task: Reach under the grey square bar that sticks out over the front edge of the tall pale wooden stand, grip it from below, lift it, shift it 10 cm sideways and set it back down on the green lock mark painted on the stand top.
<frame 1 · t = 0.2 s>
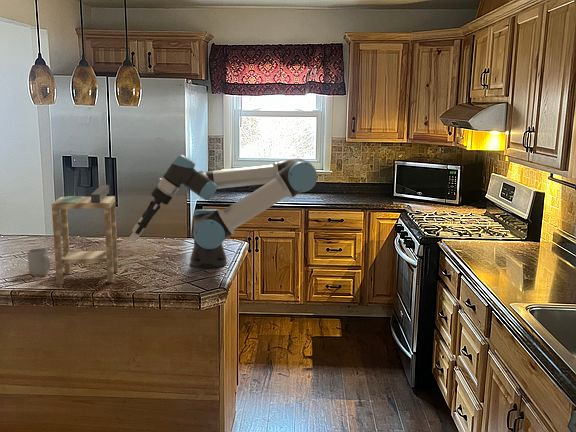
hand: (133, 236, 222), 15 cm above the counter, tool tilted 35°, fingers open, 13 cm apart
grey square bar: (100, 197, 222), point 30 cm above the counter, touching stand
cup: (41, 273, 226), on the counter
stand: (88, 277, 221), on the counter
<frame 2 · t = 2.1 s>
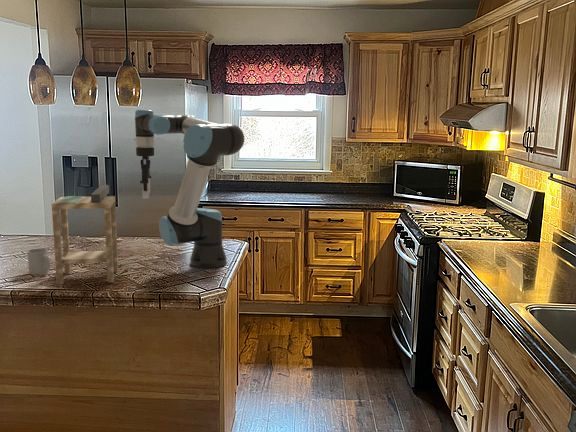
hand: (146, 195, 250), 26 cm above the counter, tool pointing down, fingers open, 13 cm apart
nothing on the counter moved.
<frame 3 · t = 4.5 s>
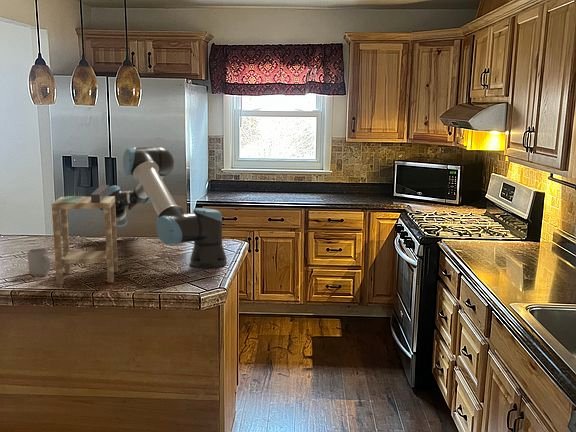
hand: (111, 195, 252), 26 cm above the counter, tool pointing upward, fingers open, 13 cm apart
nothing on the counter moved.
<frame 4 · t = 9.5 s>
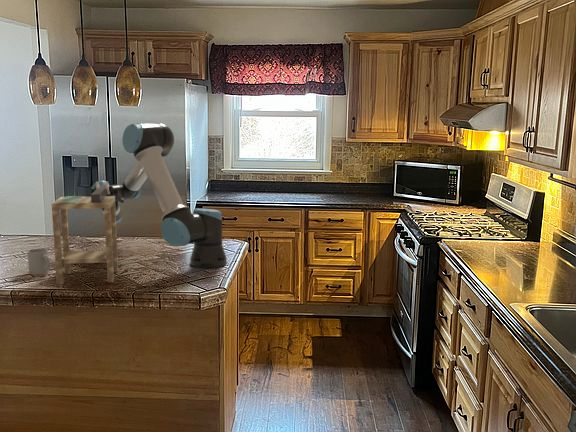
hand: (101, 184, 226), 34 cm above the counter, tool pointing upward, fingers closed on grey square bar, 3 cm apart
grey square bar: (100, 197, 222), point 30 cm above the counter, touching gripper, stand
everything else where it was.
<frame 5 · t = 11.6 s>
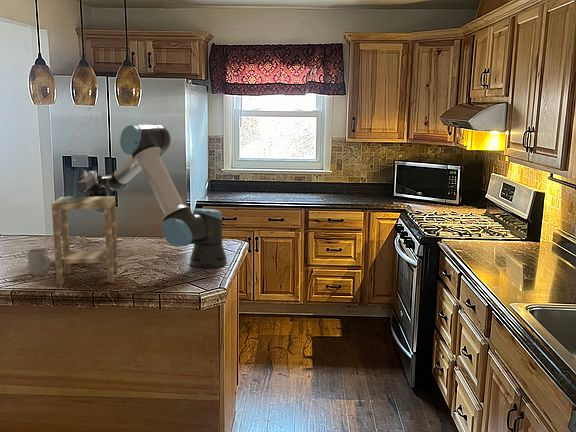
hand: (89, 173, 225), 39 cm above the counter, tool pointing upward, fingers closed on grey square bar, 3 cm apart
grey square bar: (88, 185, 221), point 34 cm above the counter, touching gripper
everything else where it was.
when the fingers open (36 cm above the counter, at t = 13.6 s): grey square bar drops 1 cm, resting on stand.
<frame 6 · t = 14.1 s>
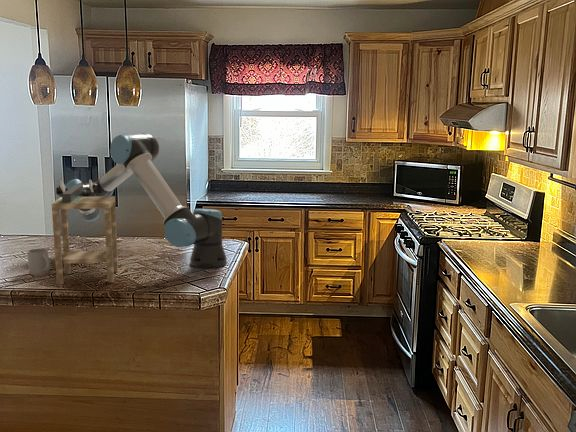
hand: (75, 183, 225), 35 cm above the counter, tool pointing upward, fingers open, 10 cm apart
grey square bar: (73, 196, 221), point 30 cm above the counter, touching stand
everything else where it was.
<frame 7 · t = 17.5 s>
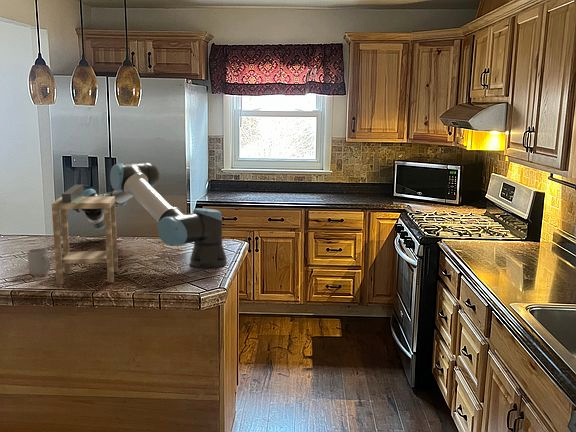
hand: (86, 196, 249), 26 cm above the counter, tool pointing upward, fingers open, 13 cm apart
nothing on the counter moved.
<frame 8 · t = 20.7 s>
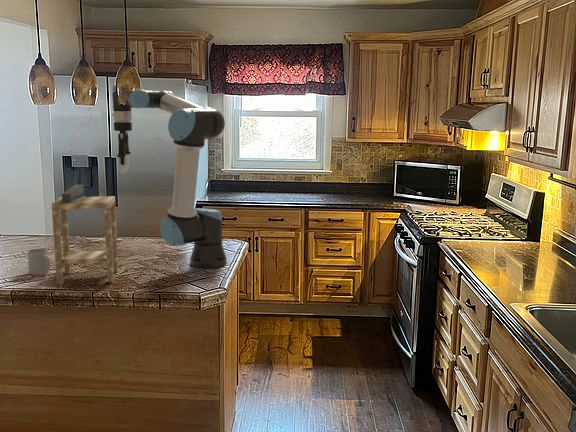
hand: (124, 170, 253), 37 cm above the counter, tool pointing down, fingers open, 13 cm apart
nothing on the counter moved.
at the end: grey square bar 0.1 cm from the target spot on the stand, point 30.3 cm above the stand's base; the gripper is holding nothing; grey square bar moved 10.0 cm from its start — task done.
